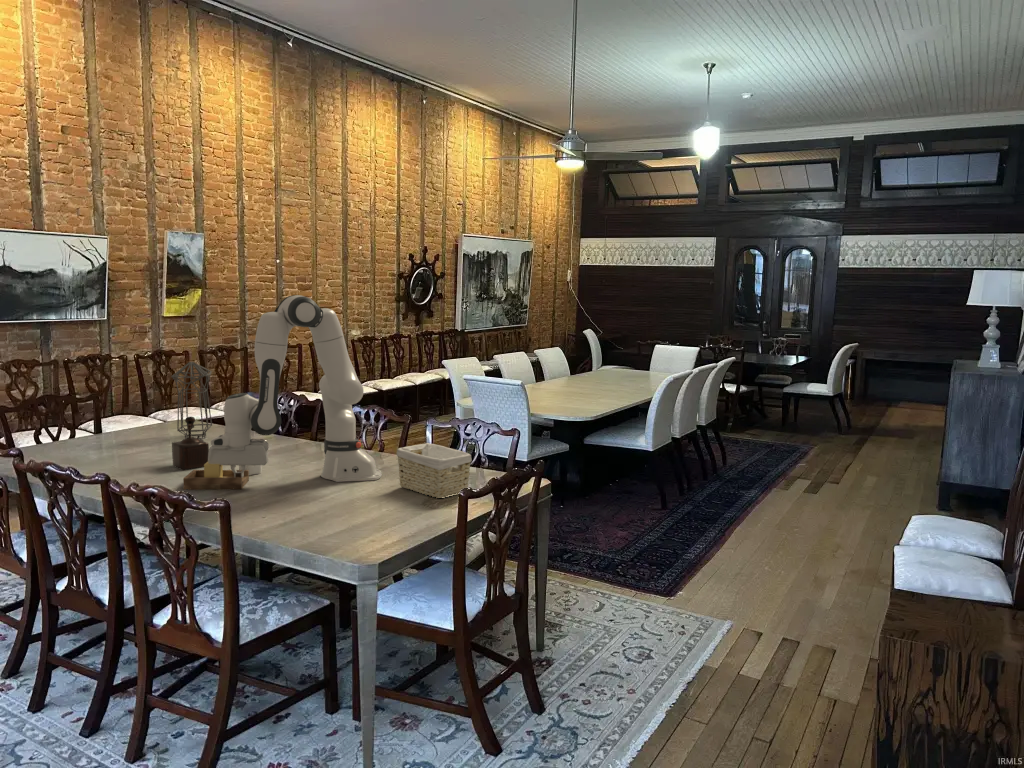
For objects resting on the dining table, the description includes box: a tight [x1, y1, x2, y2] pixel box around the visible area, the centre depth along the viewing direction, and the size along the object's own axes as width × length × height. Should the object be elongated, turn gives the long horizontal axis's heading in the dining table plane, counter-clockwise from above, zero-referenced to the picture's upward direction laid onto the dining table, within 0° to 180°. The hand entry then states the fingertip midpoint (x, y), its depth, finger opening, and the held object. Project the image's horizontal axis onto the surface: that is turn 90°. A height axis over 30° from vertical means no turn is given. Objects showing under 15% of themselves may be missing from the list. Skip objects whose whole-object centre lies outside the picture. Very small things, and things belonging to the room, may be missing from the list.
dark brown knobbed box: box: [171, 416, 210, 471], centre depth 296 cm, size 16×11×18 cm
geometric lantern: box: [170, 361, 213, 440], centre depth 345 cm, size 16×16×35 cm
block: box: [203, 462, 224, 477], centre depth 268 cm, size 5×5×6 cm
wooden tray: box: [182, 469, 250, 491], centre depth 269 cm, size 19×12×4 cm, turn 97°
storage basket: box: [396, 442, 472, 499], centre depth 271 cm, size 24×16×15 cm
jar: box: [238, 465, 263, 476], centre depth 288 cm, size 9×8×12 cm
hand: (238, 477), depth 270 cm, fingers closed
